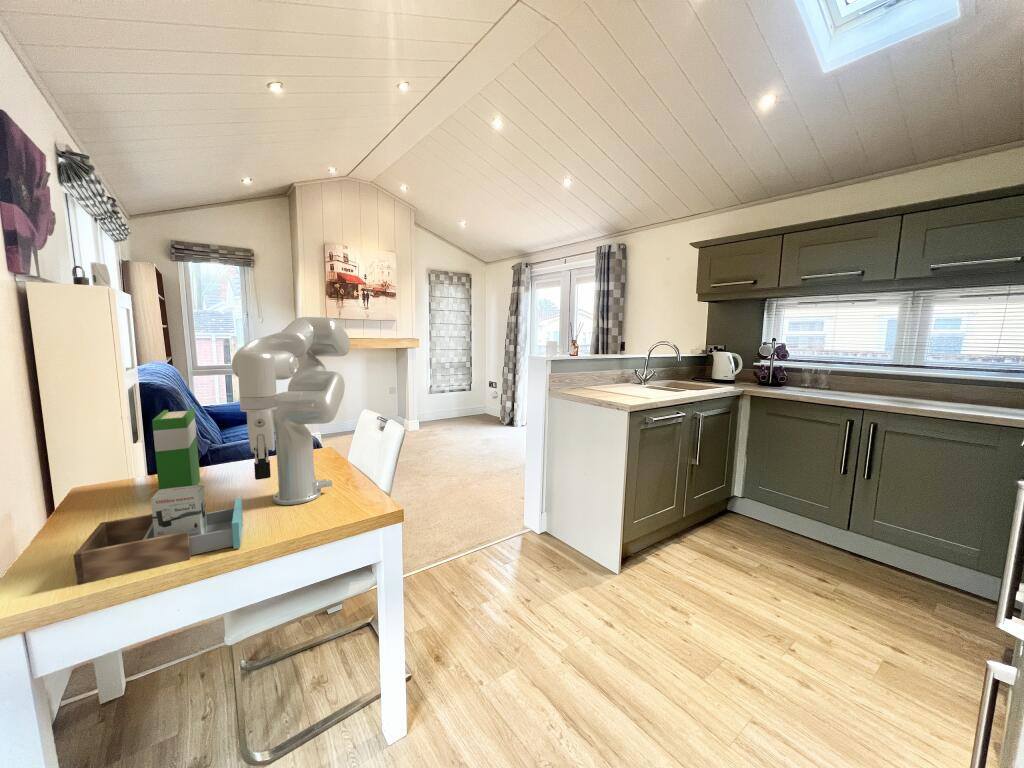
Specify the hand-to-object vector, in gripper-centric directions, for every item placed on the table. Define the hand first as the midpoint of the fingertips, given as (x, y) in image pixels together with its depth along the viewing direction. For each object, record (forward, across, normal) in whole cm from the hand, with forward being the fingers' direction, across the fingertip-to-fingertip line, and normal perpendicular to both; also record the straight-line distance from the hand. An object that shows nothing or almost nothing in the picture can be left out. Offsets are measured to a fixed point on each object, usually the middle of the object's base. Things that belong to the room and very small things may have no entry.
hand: (262, 477), depth 98 cm
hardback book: (+13, +43, +22) cm, 50 cm away
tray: (+13, +1, +14) cm, 20 cm away
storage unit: (+13, +1, +22) cm, 26 cm away
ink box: (+12, +1, +16) cm, 20 cm away
